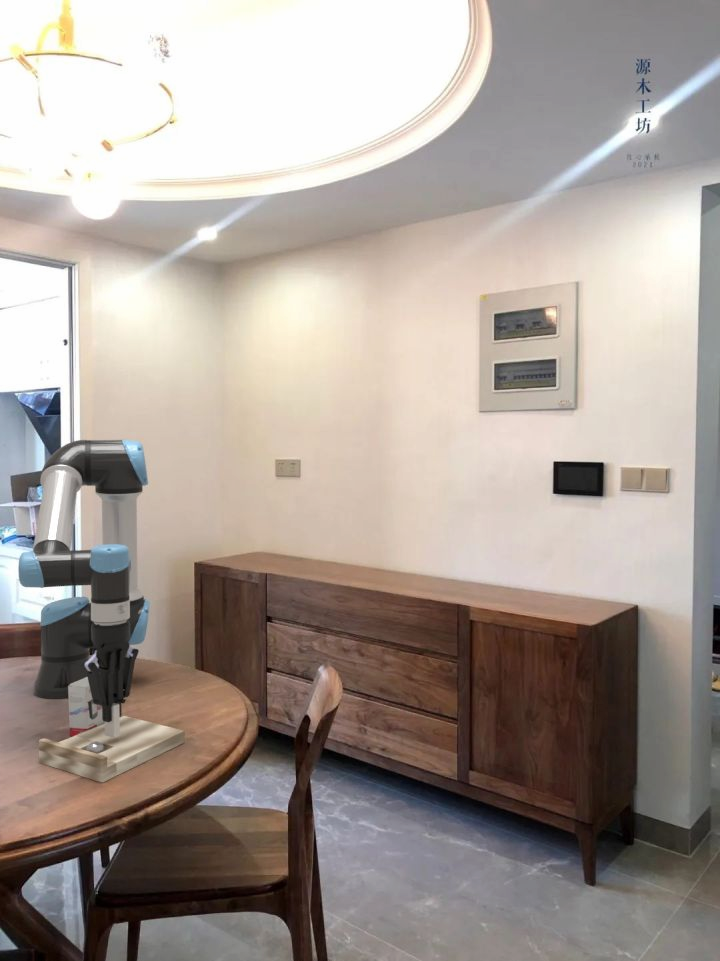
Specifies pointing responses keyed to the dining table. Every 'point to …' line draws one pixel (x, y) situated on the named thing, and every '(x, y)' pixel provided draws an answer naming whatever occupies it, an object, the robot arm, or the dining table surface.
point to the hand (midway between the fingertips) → (112, 735)
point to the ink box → (82, 708)
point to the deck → (110, 749)
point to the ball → (95, 747)
